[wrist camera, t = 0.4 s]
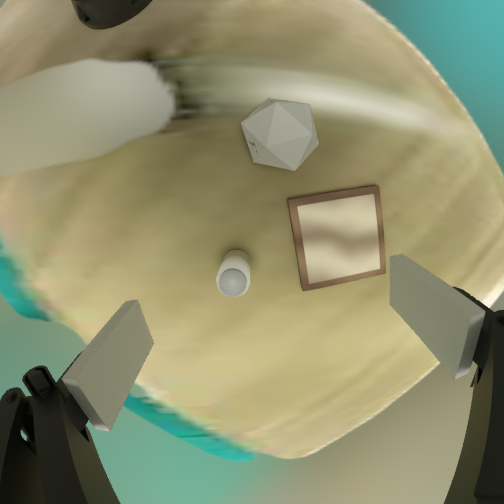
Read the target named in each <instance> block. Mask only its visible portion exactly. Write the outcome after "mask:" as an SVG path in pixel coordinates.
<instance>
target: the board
mask: <svg viewBox="0 0 504 504" xmlns="http://www.w3.org/2000/svg"><path fill="white" fill-rule="evenodd" d="M287 202H288V208H289V213H290V219H291V225H292V231H293V237H294V243H295V249H296V255H297V262H298V268H299V275H300V281H301V288H302V290H303V291H308V290H313V289H318V288H323V287H327V286H332V285H337V284H341V283H346V282H350V281H355V280H359V279H364V278H368V277H372V276H376V275H381V274H385V273H386V263H385V244H384V230H383V218H382V208H381V199H380V191H379V186H377V185H372V186H365V187H358V188H352V189H345V190H339V191H332V192H326V193H320V194H314V195H308V196H302V197H296V198H291V199H287Z"/></svg>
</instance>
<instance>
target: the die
mask: <svg viewBox="0 0 504 504" xmlns="http://www.w3.org/2000/svg"><path fill="white" fill-rule="evenodd" d="M241 125H242V128H243V131H244V134H245V137H246V140H247V143H248V147H249V150H250V153H251V156H252V159H253V162H254V163H259V164H264V165H269V166H274V167H279V168H283V169H288V170H292V171H296V170H297V168H298V167H299V166H300V165H301V164H302V163H303V162H304V160H305V159H306V158H307V157H308V156H309V155H310V154H311V152H312V151H313V150H314V149H315V148H316V147H317V146H318V145H319V141H318V137H317V133H316V128H315V124H314V120H313V116H312V112H311V108H310V104H304V103H298V102H291V101H284V100H276V99H267V100H266V101H265V102H264V103H262V104H261V105H260V106H259V107H258V108H257V109H256V110H254V111H253V112H252V113H251V114H250V115H249V116H248V117H247V118H246V119H244V120H243V121H242V122H241Z"/></svg>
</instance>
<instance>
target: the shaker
mask: <svg viewBox="0 0 504 504" xmlns="http://www.w3.org/2000/svg"><path fill="white" fill-rule="evenodd" d="M250 269H251V261H250V258H249V256H248V255H247V253H245V252H244V251H242V250H238V249H234V250H231V251H229V252H227V253H226V254H225V256H224V257H223V260H222V263H221V266H220V269H219V271H218V274H217V278H216V283H217V287H218V288H219V290H220V291H221V292H222V293H223V294H225V295H227V296H231V297H237V296H240V295H242V294H244V293H245V292H246V291H247V290H248V288H249V285H250Z"/></svg>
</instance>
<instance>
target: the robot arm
mask: <svg viewBox="0 0 504 504" xmlns="http://www.w3.org/2000/svg"><path fill="white" fill-rule="evenodd" d="M71 1H72V4H73V6H74V9H75V11H76V14H77V16H78V18H79V20H80V21H81V22H82V23H84V24H85V25H86V26H88V27H90V28H92V29H106V28H110V27H113V26H116V25H118V24H121V23H123V22H125V21H127V20H128V19H130V18H132V17H133V16H135V15H136V14H138V13H139V12H140V11H141V10H143V9H144V8H145V7H146V6H147V5H148V4H149V3H150V2H151V0H71ZM390 305H391V306H392V307H393V309H394V310H395V311H396V312H397V313H398V314H399V315H400V316H401V317H402V318H403V320H404V321H405V322H406V323H407V324H408V325H409V326H410V327H411V329H412V330H413V331H414V332H415V333H416V334H417V335H418V337H419V338H420V339H421V340H422V341H423V342H424V344H425V345H426V346H427V347H428V348H429V349H430V351H431V352H432V353H433V354H434V355H435V357H436V358H437V359H438V360H439V361H440V363H441V364H442V365H443V366H444V367H445V369H446V370H447V371H448V372H449V374H450V375H451V376H452V377H453V378H454V380H455V379H457V378H459V377H461V376H463V375H465V374H467V373H469V370H470V367H471V364H472V361H474V362H475V363H476V364H477V365H478V367H477V370H476V373H475V375H474V378H473V381H472V383H471V386H470V387H473V385H474V389H473V397H472V403H471V409H470V415H469V420H468V425H467V430H466V435H465V439H464V443H463V447H462V451H461V455H460V458H459V461H458V465H457V468H456V471H455V474H454V477H453V480H452V483H451V486H450V489H449V491H448V494H447V497H446V499H445V502H444V504H504V310H499V311H496V312H493V311H492V310H491V309H489V308H488V307H487V306H485V305H484V304H483V303H481V302H480V301H478V300H476V298H474V297H473V296H471V295H470V294H469V293H467V292H466V291H464V290H462V289H460V288H457V287H451V286H450V285H449V284H447V283H446V282H444V281H443V280H441V279H440V278H438V277H437V276H435V275H434V274H433V273H431V272H430V271H428V270H427V269H425V268H424V267H422V266H420V265H419V264H417V263H416V262H414V261H413V260H411V259H410V258H408V257H407V256H405V255H403V254H399V255H394V256H390ZM153 344H154V342H153V339H152V337H151V334H150V331H149V329H148V326H147V324H146V321H145V318H144V316H143V313H142V310H141V307H140V304H139V302H138V300H131V301H126V302H125V303H124V304H123V305H122V306H121V307H120V308H119V309H118V311H117V312H116V313H115V314H114V315H113V316H112V318H111V319H110V320H109V321H108V322H107V323H106V324H105V326H104V327H103V328H102V329H101V330H100V332H99V333H98V334H97V335H96V336H95V338H94V339H93V340H92V341H91V342H90V344H89V345H88V346H87V347H86V348H85V350H84V351H82V352H81V353H80V354H79V355H78V356H77V357H76V358H75V360H74V362H72V363H71V365H70V367H68V368H67V370H66V371H65V372H64V373H63V375H62V376H61V377H60V379H59V380H58V381H57V382H55V380H54V379H53V377H52V375H51V374H50V372H49V370H48V368H47V367H45V366H37V367H34V368H32V369H30V370H29V371H28V372H27V373H26V374H25V375H24V376H23V379H22V381H23V382H24V384H25V386H26V387H27V389H28V390H29V392H30V393H31V395H32V396H27V397H26V396H25V394H24V393H23V391H22V390H21V389H20V388H18V387H16V388H12V389H9V390H7V391H6V393H5V394H4V395H3V396H2V398H1V400H0V504H120V502H119V500H118V498H117V496H116V494H115V492H114V490H113V488H112V486H111V484H110V481H109V479H108V477H107V475H106V472H105V470H104V468H103V466H102V464H101V461H100V458H99V455H98V453H97V450H96V448H95V445H94V442H93V439H92V436H91V434H90V431H89V430H88V428H87V427H86V424H87V422H88V420H90V422H91V423H92V425H93V426H94V427H95V429H98V430H104V431H111V429H112V427H113V425H114V423H115V420H116V418H117V416H118V414H119V412H120V410H121V408H122V406H123V404H124V402H125V400H126V398H127V396H128V394H129V392H130V390H131V388H132V386H133V383H134V382H135V380H136V378H137V376H138V374H139V372H140V370H141V368H142V366H143V364H144V362H145V360H146V358H147V356H148V354H149V352H150V350H151V348H152V346H153ZM21 430H22V431H23V432H24V433H25V435H26V436H27V440H26V441H25V440H24V439H23V438H22V436H21Z"/></svg>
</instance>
